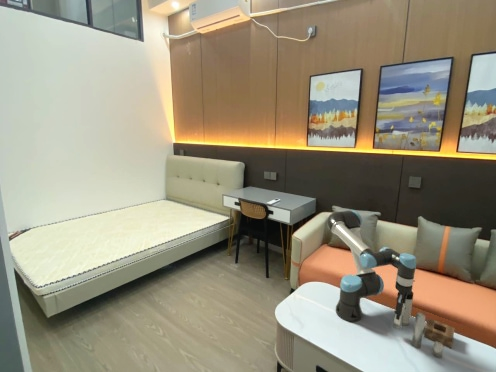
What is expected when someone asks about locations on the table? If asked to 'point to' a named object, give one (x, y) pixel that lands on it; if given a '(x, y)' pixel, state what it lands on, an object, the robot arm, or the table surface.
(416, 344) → the pin long
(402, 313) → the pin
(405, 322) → the travel mug
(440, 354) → the pin short
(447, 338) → the hole block
